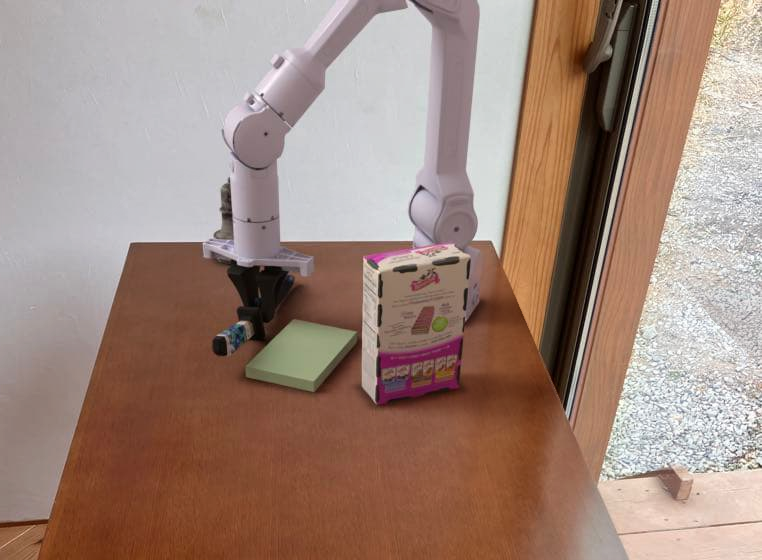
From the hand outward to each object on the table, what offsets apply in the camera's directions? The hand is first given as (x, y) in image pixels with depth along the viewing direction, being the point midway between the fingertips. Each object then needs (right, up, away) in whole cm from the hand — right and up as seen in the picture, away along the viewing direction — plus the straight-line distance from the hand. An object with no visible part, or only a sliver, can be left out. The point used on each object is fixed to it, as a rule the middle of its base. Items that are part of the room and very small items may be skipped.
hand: (260, 318), depth 116 cm
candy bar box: (+19, -11, -10) cm, 24 cm away
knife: (0, -1, +1) cm, 2 cm away
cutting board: (+6, -6, -5) cm, 10 cm away
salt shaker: (-6, +14, +19) cm, 24 cm away
